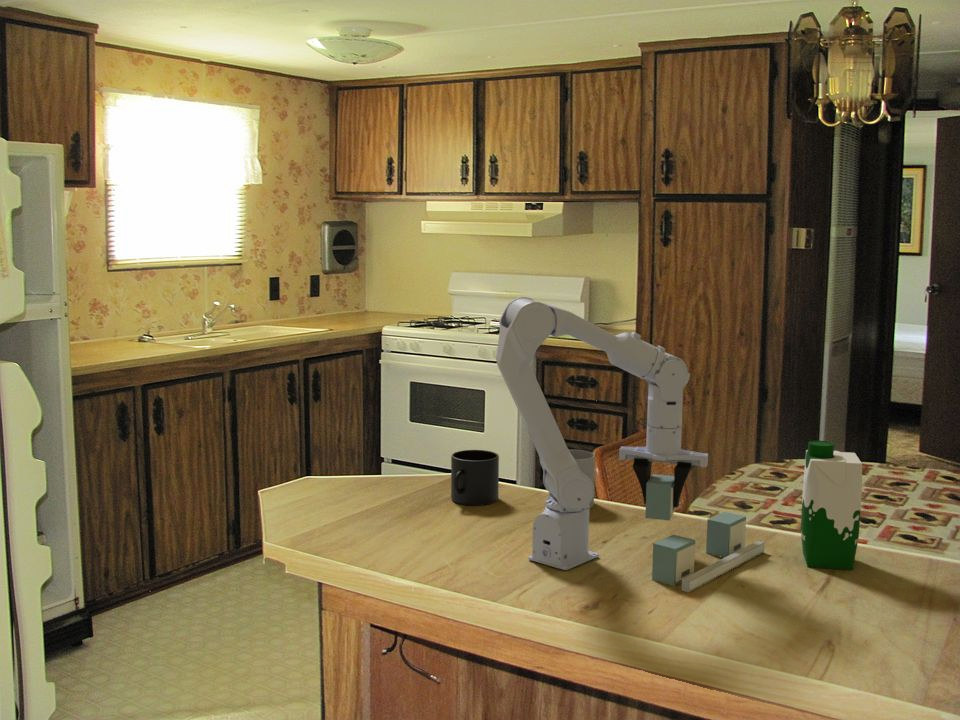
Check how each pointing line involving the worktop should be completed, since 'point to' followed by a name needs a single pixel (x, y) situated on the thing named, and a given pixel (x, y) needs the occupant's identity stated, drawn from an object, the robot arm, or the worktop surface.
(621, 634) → the worktop surface
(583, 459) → the cup
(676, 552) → the tea box
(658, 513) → the tea box
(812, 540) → the milk carton
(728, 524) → the tea box
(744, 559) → the rail
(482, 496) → the mug
